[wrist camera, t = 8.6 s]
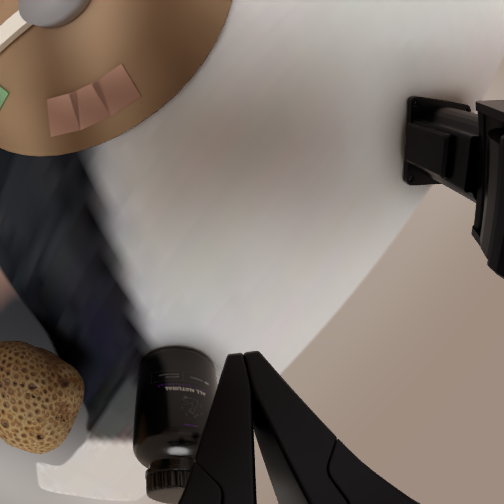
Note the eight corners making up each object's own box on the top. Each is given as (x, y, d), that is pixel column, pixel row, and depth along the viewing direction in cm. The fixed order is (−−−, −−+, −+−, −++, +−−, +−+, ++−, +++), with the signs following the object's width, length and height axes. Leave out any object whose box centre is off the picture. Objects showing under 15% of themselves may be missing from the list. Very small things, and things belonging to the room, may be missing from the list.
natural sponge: (-14, 331, 20) (-53, 414, 12) (34, 295, 20) (-13, 397, 11) (49, 389, 25) (31, 472, 17) (106, 366, 24) (93, 466, 16)
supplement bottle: (198, 335, 24) (215, 477, 14) (224, 382, 28) (247, 500, 18) (123, 355, 24) (112, 487, 14) (158, 398, 28) (162, 511, 17)
